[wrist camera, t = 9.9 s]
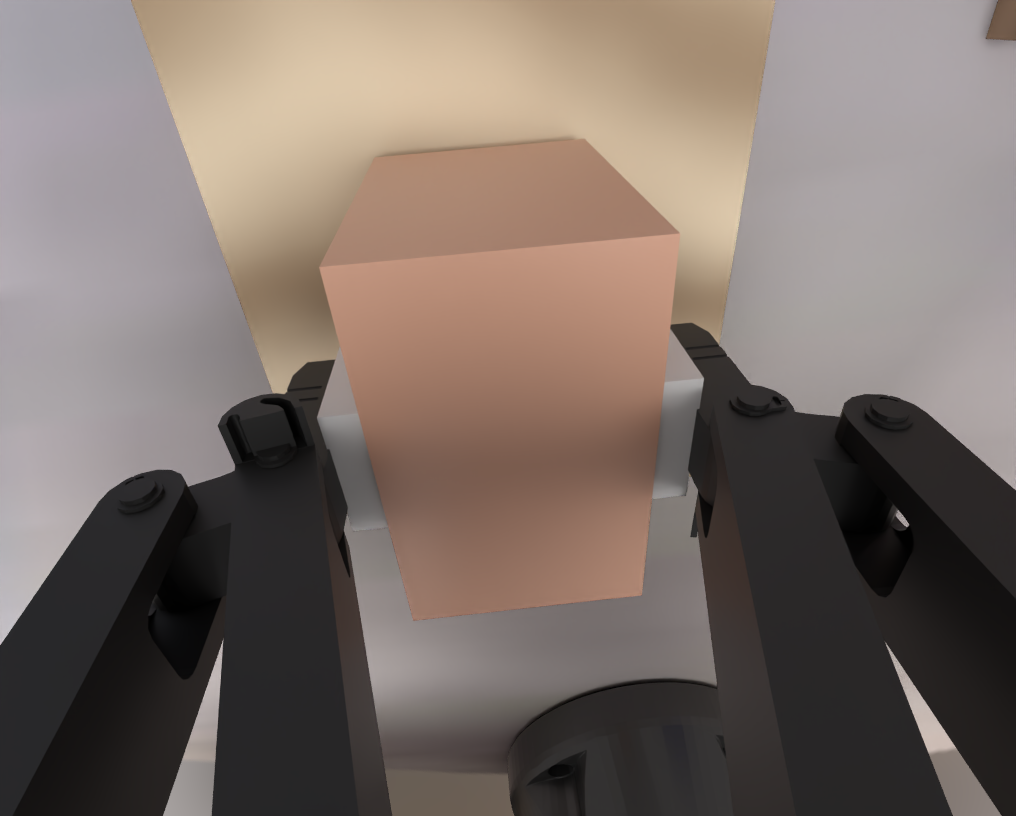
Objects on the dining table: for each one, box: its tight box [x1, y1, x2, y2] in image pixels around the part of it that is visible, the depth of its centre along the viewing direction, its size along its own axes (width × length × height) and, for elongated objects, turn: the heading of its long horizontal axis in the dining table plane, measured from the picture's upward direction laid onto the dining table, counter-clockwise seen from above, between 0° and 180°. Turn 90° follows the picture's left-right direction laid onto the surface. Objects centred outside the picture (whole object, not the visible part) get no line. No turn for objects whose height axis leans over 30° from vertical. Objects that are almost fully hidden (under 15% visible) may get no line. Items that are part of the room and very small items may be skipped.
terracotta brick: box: [319, 139, 680, 621], centre depth 13 cm, size 8×5×7 cm, turn 4°
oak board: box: [131, 0, 775, 477], centre depth 17 cm, size 16×14×1 cm
